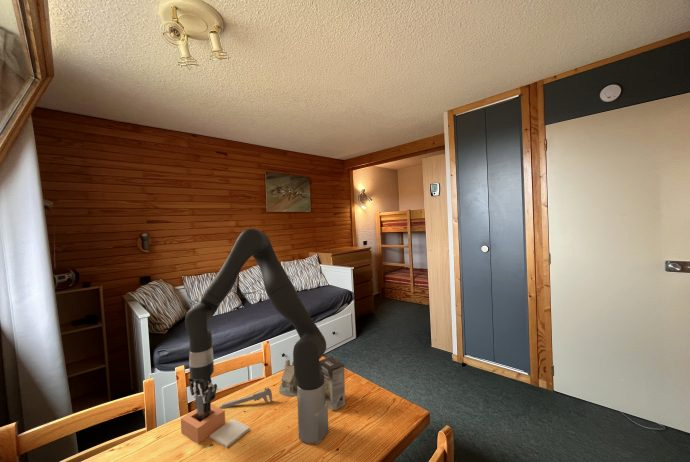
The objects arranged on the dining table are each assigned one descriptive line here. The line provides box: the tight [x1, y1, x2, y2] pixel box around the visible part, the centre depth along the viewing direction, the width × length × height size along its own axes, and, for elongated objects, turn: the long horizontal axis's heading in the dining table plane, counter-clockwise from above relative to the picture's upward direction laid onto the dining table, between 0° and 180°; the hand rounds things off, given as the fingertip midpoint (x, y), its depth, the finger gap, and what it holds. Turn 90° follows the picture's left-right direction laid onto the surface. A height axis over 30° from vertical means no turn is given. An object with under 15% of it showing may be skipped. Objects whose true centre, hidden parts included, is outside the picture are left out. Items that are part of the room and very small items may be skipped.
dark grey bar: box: [195, 390, 210, 422], centre depth 95 cm, size 4×4×12 cm
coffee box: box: [319, 356, 346, 412], centre depth 107 cm, size 9×6×16 cm
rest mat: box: [209, 418, 251, 449], centre depth 92 cm, size 9×9×1 cm
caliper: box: [218, 387, 273, 409], centre depth 108 cm, size 20×1×6 cm, turn 98°
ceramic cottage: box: [278, 358, 297, 398], centre depth 118 cm, size 16×16×15 cm
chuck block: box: [180, 403, 226, 444], centre depth 95 cm, size 10×10×5 cm
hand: (203, 409), depth 95 cm, fingers closed on dark grey bar, 4 cm apart
